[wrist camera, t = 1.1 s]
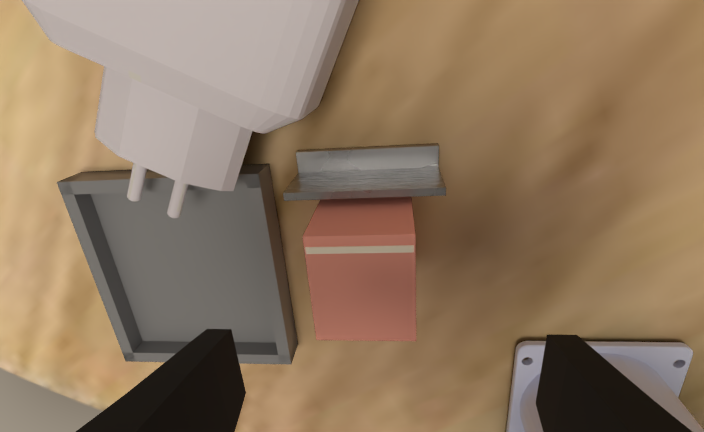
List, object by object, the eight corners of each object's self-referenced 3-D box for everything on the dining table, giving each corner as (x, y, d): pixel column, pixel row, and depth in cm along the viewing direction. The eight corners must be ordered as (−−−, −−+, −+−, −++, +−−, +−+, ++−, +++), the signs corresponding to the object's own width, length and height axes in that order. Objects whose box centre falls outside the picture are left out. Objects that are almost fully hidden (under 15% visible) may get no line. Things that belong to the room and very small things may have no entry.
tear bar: (437, 170, 17) (445, 195, 14) (301, 176, 18) (284, 200, 15) (437, 143, 16) (446, 163, 14) (298, 150, 17) (279, 170, 14)
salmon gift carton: (410, 262, 19) (416, 341, 14) (336, 263, 19) (316, 340, 14) (409, 179, 17) (415, 234, 12) (328, 182, 18) (302, 237, 13)
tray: (297, 343, 22) (291, 364, 20) (142, 342, 23) (125, 361, 21) (268, 163, 18) (258, 173, 16) (81, 172, 19) (56, 182, 17)
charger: (87, 148, 18) (149, -289, 12) (274, 227, 19) (419, -150, 13) (-10, 179, 14) (13, -478, 8) (238, 281, 14) (432, -253, 8)
